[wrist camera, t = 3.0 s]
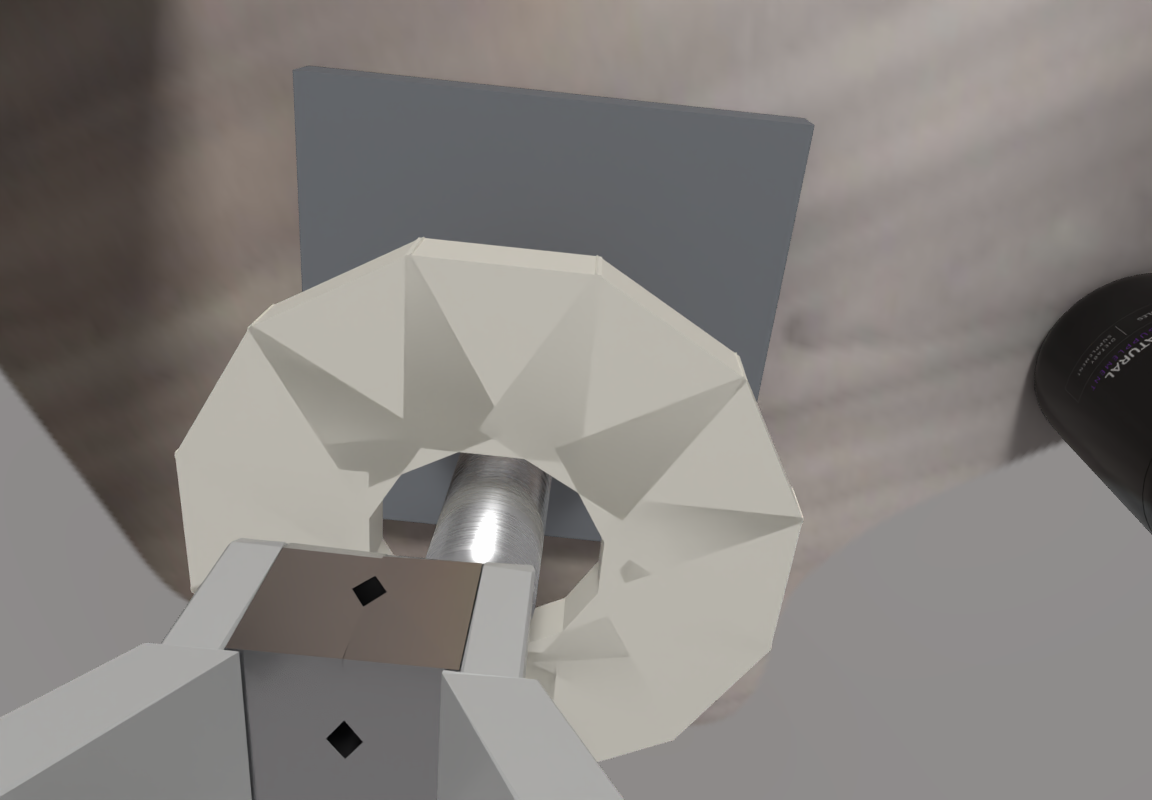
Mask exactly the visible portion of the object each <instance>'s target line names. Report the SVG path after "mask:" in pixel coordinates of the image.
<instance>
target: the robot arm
mask: <svg viewBox="0 0 1152 800" xmlns="http://www.w3.org/2000/svg"><path fill="white" fill-rule="evenodd" d="M534 579H535V569H534V567H533V565H523V564H507V563H492V562H486V563H485V564H483V563H473V562H461V561H450V560H439V559H427V558H416V557H405V556H393V555H388V554H383V553H375V552H366V551H358V550H349V549H341V548H332V547H324V546H315V545H307V544H298V543H289V544H288V543H285V542H279V541H269V540H259V539H249V538H239V539H237V540H235V541H232V542H231V543H230V544H229V545H228V546H227V547H226V549H225V550H224V552H223V553H222V555H221V556H220V558H219V559H218V561H217V562H216V563H215V565H214V566H213V568H212V569H211V571H210V572H209V574H208V575H207V577H206V578H205V580H204V581H203V582H202V584H201V585H200V587H199V588H198V590H197V591H196V593H195V594H194V596H193V597H192V598H191V600H190V601H189V603H188V604H187V606H186V607H185V609H184V610H183V612H182V613H181V615H180V616H179V617H178V619H177V620H176V622H175V623H174V625H173V626H172V628H171V629H170V631H169V632H168V634H167V635H166V636H165V638H164V639H163V641H162V642H161V644H154V643H143V644H141V645H139V646H137V647H135V648H133V649H132V650H130V651H127V652H125V653H123V654H122V655H120V656H118V657H116V658H114V659H112V660H110V661H108V662H106V663H104V664H102V665H100V666H98V667H96V668H95V669H93V670H91V671H89V672H87V673H85V674H83V675H81V676H79V677H77V678H75V679H73V680H71V681H69V682H68V683H66V684H64V685H62V686H60V687H58V688H56V689H54V690H52V691H50V692H48V693H46V694H44V695H42V696H41V697H38V698H37V699H35V700H33V701H31V702H29V703H27V704H25V705H23V706H21V707H19V708H17V709H15V710H14V711H12V712H10V713H8V714H6V715H4V716H2V717H0V800H624V798H623V797H622V795H621V794H620V793H619V791H618V790H617V789H616V787H615V786H614V785H613V783H612V782H611V780H610V779H609V777H608V776H607V775H606V773H605V772H604V771H603V769H602V768H601V766H600V765H599V764H598V762H597V761H596V759H595V758H594V757H593V755H592V754H591V753H590V751H589V750H588V748H587V747H586V746H585V744H584V743H583V742H582V740H581V739H580V737H579V736H578V735H577V733H576V732H575V730H574V729H573V728H572V726H571V725H570V724H569V722H568V721H567V719H566V718H565V717H564V715H563V714H562V713H561V711H560V710H559V708H558V707H557V706H556V704H555V703H554V701H553V700H552V699H551V697H550V696H549V695H548V693H547V692H546V690H545V689H544V688H543V686H542V685H541V683H540V682H539V681H538V680H536V679H526V678H525V675H526V664H527V654H528V643H529V632H530V622H531V611H532V600H533V590H534Z"/></svg>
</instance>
